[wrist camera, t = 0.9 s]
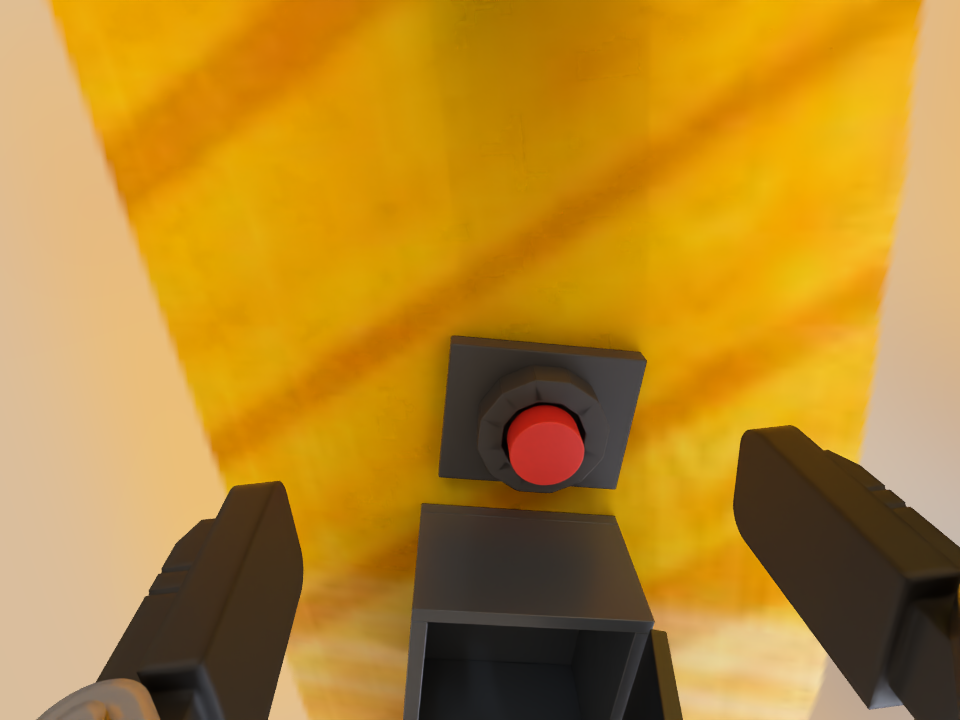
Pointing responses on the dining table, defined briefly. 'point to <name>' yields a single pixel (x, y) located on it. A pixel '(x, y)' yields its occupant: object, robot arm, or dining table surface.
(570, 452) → the button
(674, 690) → the lid
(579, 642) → the dark grey lidded box
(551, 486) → the block
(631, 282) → the dining table surface
